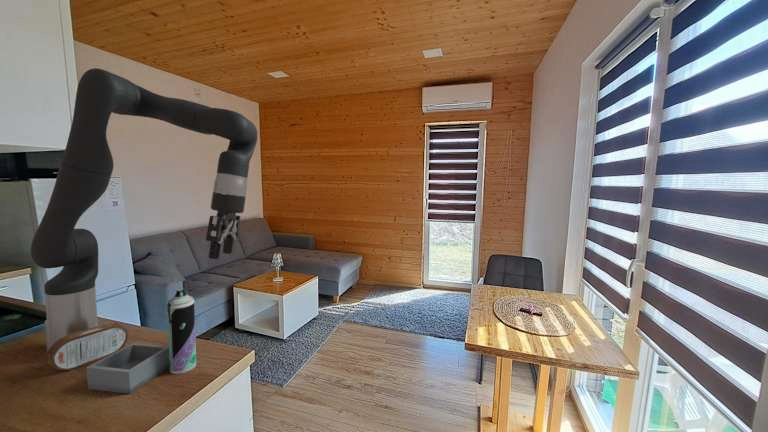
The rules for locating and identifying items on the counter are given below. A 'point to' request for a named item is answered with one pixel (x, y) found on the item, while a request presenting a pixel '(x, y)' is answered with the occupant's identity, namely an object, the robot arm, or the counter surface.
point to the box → (128, 368)
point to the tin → (86, 346)
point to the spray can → (181, 333)
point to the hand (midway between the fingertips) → (220, 255)
